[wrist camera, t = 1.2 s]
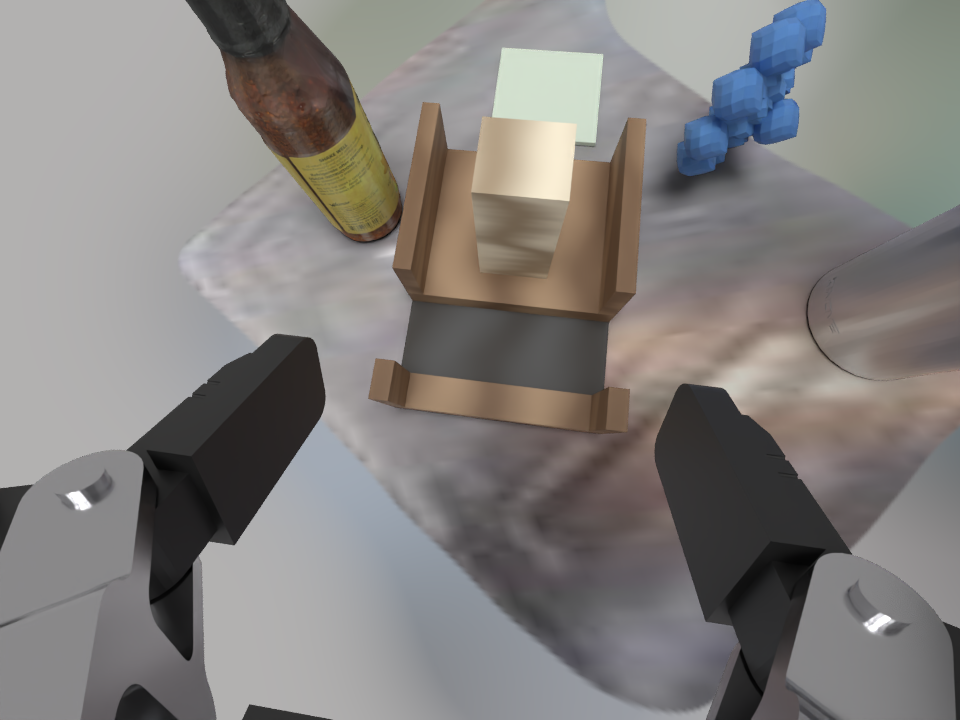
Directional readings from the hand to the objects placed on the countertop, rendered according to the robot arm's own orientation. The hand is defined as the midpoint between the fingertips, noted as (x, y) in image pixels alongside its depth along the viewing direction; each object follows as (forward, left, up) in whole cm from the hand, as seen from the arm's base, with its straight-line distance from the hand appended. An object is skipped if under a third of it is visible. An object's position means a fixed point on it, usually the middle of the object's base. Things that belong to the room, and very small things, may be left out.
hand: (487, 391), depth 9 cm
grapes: (-15, -23, -22) cm, 35 cm away
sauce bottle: (+13, -16, -22) cm, 30 cm away
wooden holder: (0, -11, -21) cm, 24 cm away
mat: (-1, -29, -21) cm, 36 cm away
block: (0, -13, -19) cm, 24 cm away
